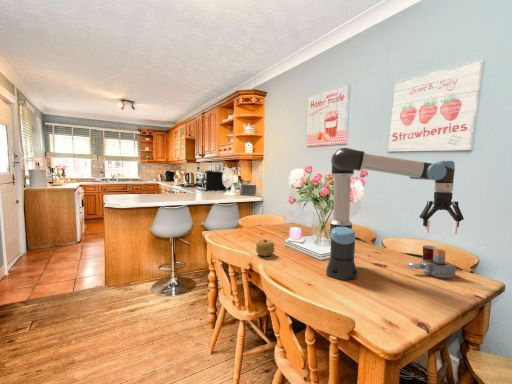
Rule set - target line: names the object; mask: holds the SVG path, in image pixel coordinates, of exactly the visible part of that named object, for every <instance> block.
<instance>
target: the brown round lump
mask: <svg viewBox="0 0 512 384" xmlns="http://www.w3.org/2000/svg"><path fill="white" fill-rule="evenodd" d="M255 246H256V247H255V251H256V253H257V255H259V256H261V257H270V256H271V255H273V254H274V252H275V248H274V247H275V243H274V242H273V241H272V240H270V239H266V238H265V239H264V238H263V239H260V240H258V241H257V242H256V243H255Z"/></svg>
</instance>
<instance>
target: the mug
mask: <svg viewBox="0 0 512 384" xmlns="http://www.w3.org/2000/svg"><path fill="white" fill-rule="evenodd" d="M434 249H441V248H440V247H438V246H434V245H427V244H426V245H425V244H424V245H422V257H421V258H422V260H423V259H424V260H433V250H434Z"/></svg>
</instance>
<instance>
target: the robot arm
mask: <svg viewBox="0 0 512 384" xmlns="http://www.w3.org/2000/svg"><path fill="white" fill-rule="evenodd" d="M330 162H331V176H333V177H334V178H333V213H332V214H333V215H332V220H331V221H330V222H329V226H330V227H329V234H328V236H329V240H330V255H329V256H330V257H329V260H328V263H327V266H326V269H325V270H326V274H327V276H329V277H331V278H333V279H337V280H341V281H352V280H355V279H357V278H358V268H357V266H356V263H355V251H356V249H355V248H356V232H355V230H354V229H353V222H351V221H350V212H351V211H350V208H351V207H350V206H351V183H352V182H351V177H352V176H354V174H355V171H359V172H360V171H362V170H365V171H371V172H378V173H379V172H380V173H385V174H392V175H399V176H404V177H408V178H409V179H410V180H411V179H412V180H428V181H434V189H433V190H434V193H433V199H434V200H433V201H432V200H427V201H426V205H425V206H424V208H423V210H422V212H421V213H420V214H419V218H420V219H422V220H423V221H422V222H423V223H422V226H424V228H423V229H424V230H423V232H424V233H425V234H430V222H431V221H430V220H429V219H431V218H432V216H433V215H434V214H435V213H437V212H438V211H447V212H448V214H449V215H450V216H451V217H452V221H451V234H454V235H457V234H458V228H459V227H460V222H461V221H464V219H465V217H464V216H463V212H462V211H461V208H460V207H459V206H460V205H459V202H458V201H457V200H456V201H455V200H453V190H454V181H455V180H454V179H455V177H454V176H455V171H456V163H455V161H454V160H438V161H436V162H434V163H433V162H432V163H431V162H423V161H418V160H412V159H405V158H404V159H403V158H397V157H390V156H384V155H383V156H382V155H377V154H369V153H366V152H365V151H363V150H357V149H353V148H349V147H342V148H338V149H337V150H336V151H335V152H334V153H333V154H332V157H331V161H330ZM452 200H453V201H452ZM451 206H452V207H451Z"/></svg>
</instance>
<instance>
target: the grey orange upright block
mask: <svg viewBox="0 0 512 384" xmlns="http://www.w3.org/2000/svg"><path fill="white" fill-rule="evenodd" d="M445 262H446V250H444V249H442V248H440V249H434V250H433V263H434V264H436V265H445Z"/></svg>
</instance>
